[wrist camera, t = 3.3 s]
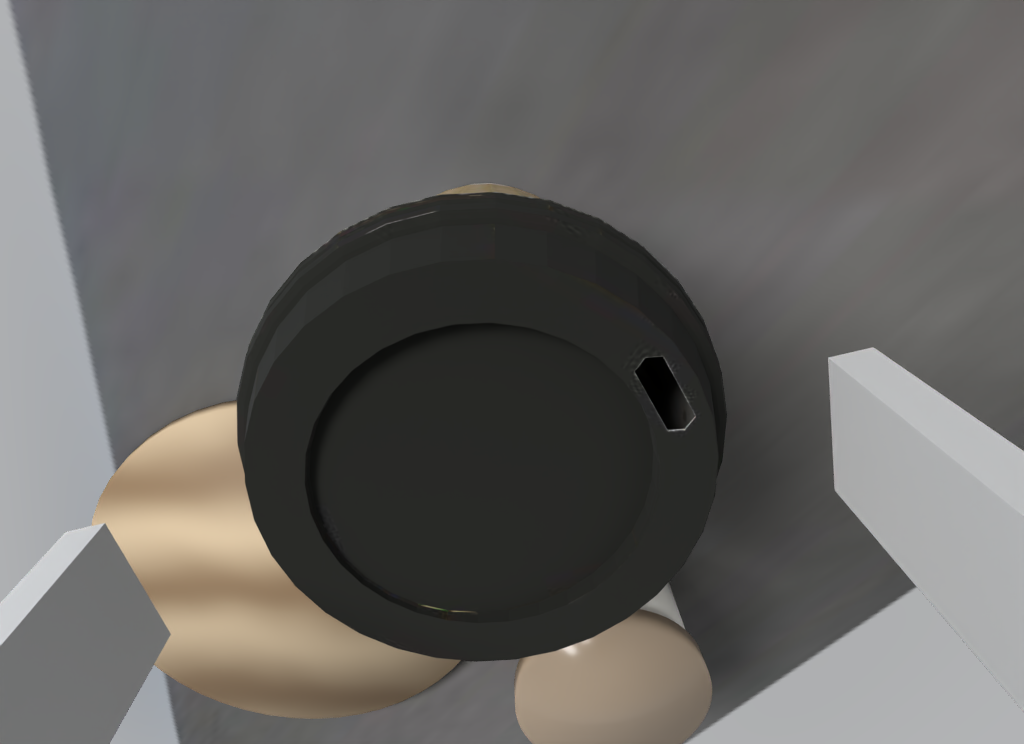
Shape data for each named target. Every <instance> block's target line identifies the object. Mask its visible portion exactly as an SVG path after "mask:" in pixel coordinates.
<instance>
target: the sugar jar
mask: <svg viewBox="0 0 1024 744" xmlns="http://www.w3.org/2000/svg"><path fill="white" fill-rule="evenodd" d="M514 687H515V710H516V716H517V720H518V722H519V725H520V727H521V729H522V731H523V732H524V734H525V735H526V737H527V738H528V739H529V740H530V741H531V742H532V743H533V744H682V743H683V742H684V741H685V740H686V739H688V738H689V737H690V736H691V735H692V734H693V733H694V732H695V731H696V730H697V728H698V727H699V726H700V724H701V723H702V721H703V720H704V718H705V716H706V714H707V712H708V710H709V707H710V703H711V699H712V682H711V678H710V674H709V672H708V669H707V666H706V663H705V661H704V658H703V655H702V653H701V650H700V648H699V646H698V644H697V643H696V641H695V640H694V638H693V637H692V636H691V635H690V634H689V633H688V632H687V631H686V630H685V627H684V624H683V621H682V619H681V616H680V613H679V610H678V607H677V604H676V602H675V599H674V596H673V593H672V590H671V587H670V584H669V582H668V583H667V584H666V586H665V587H664V588H663V589H662V590H661V591H660V592H659V594H658V595H656V596H655V597H654V598H653V599H651V600H650V601H649V602H647V603H646V604H645V605H644V606H642V607H641V608H640V609H639V610H637V611H636V612H635V613H634V614H632V615H631V616H630V617H629V618H627V619H626V620H624V621H622V622H620V623H618V624H616V625H615V626H613V627H611V628H609V629H607V630H606V631H604V632H602V633H600V634H598V635H597V636H595V637H593V638H590V639H588V640H585V641H582V642H579V643H577V644H574V645H571V646H568V647H566V648H563V649H560V650H557V651H554V652H549V653H544V654H539V655H535V656H530V657H525V658H520V660H519V662H518V665H517V669H516V672H515V679H514Z"/></svg>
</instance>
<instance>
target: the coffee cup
mask: <svg viewBox="0 0 1024 744" xmlns="http://www.w3.org/2000/svg"><path fill="white" fill-rule="evenodd" d="M726 418H727V412H726V404H725V396H724V388H723V380H722V372H721V369H720V366H719V361H718V358H717V356H716V353H715V350H714V348H713V345H712V342H711V339H710V337H709V334H708V331H707V328H706V326H705V323H704V320H703V318H702V317H701V315H700V313H699V312H698V310H697V309H696V307H695V306H694V304H693V303H692V301H691V300H690V298H689V297H688V295H687V293H686V292H685V290H684V289H683V287H682V286H681V284H680V283H679V281H678V280H677V279H676V278H675V277H674V276H673V275H672V274H671V273H670V272H669V271H668V270H667V269H666V268H665V267H664V266H663V265H662V264H661V263H660V262H659V261H658V260H657V259H656V258H655V257H654V256H653V255H652V254H651V253H650V252H649V251H648V250H647V249H646V248H645V247H644V246H642V245H641V244H639V243H638V242H636V241H634V240H633V239H631V238H630V237H628V236H626V235H625V234H623V233H622V232H620V231H618V230H617V229H615V228H614V227H612V226H611V225H609V224H607V223H606V222H604V221H603V220H601V219H599V218H597V217H594V216H591V215H589V214H586V213H583V212H580V211H578V210H575V209H572V208H570V207H567V206H564V205H562V204H559V203H556V202H553V201H551V200H546V199H540V198H539V197H537V196H535V195H533V194H530V193H528V192H525V191H522V190H520V189H517V188H514V187H509V186H506V185H500V184H493V183H480V184H471V185H466V186H463V187H459V188H455V189H451V190H447V191H445V192H443V193H441V194H438V195H436V196H433V197H429V198H425V199H421V200H417V201H413V202H409V203H405V204H401V205H398V206H394V207H390V208H387V209H385V210H383V211H381V212H379V213H377V214H375V215H373V216H371V217H369V218H366V219H364V220H362V221H360V222H358V223H356V224H354V225H352V226H350V227H348V228H346V229H344V230H342V231H340V232H339V233H338V234H336V235H335V236H334V237H333V238H331V239H330V240H329V241H328V242H326V243H325V244H324V245H323V246H321V247H320V248H319V249H317V250H316V251H315V252H314V253H312V254H311V255H310V256H309V257H307V258H306V259H305V260H304V261H302V262H301V263H300V264H299V266H298V267H297V268H296V269H295V270H294V272H293V273H292V274H291V275H290V277H289V278H288V279H287V280H286V282H285V283H284V284H283V285H282V287H281V288H280V289H279V290H278V291H277V293H276V294H275V295H274V296H273V298H272V299H271V300H270V302H269V304H268V306H267V308H266V310H265V312H264V314H263V316H262V319H261V321H260V323H259V325H258V327H257V329H256V331H255V333H254V335H253V337H252V339H251V341H250V344H249V347H248V352H247V354H246V358H245V362H244V367H243V371H242V376H241V380H240V385H239V389H238V394H237V444H238V449H239V453H240V457H241V461H242V465H243V469H244V473H245V485H246V489H247V493H248V497H249V501H250V506H251V510H252V514H253V518H254V521H255V523H256V525H257V527H258V529H259V531H260V533H261V535H262V537H263V539H264V541H265V543H266V545H267V547H268V549H269V551H270V554H271V556H272V557H273V558H274V559H275V561H276V562H277V563H278V565H279V566H280V567H281V568H282V570H283V571H284V572H285V574H286V575H287V576H288V577H289V579H290V580H291V581H292V582H293V584H294V585H295V586H296V587H297V588H298V589H299V590H300V591H301V592H302V593H304V594H305V595H306V596H307V597H308V598H309V599H310V600H312V601H313V602H314V603H315V604H316V605H317V606H318V607H320V608H321V609H322V610H323V611H324V612H325V613H327V614H328V615H330V616H332V617H333V618H335V619H337V620H338V621H340V622H342V623H343V624H345V625H346V626H348V627H350V628H351V629H353V630H355V631H356V632H358V633H360V634H362V635H365V636H367V637H369V638H372V639H374V640H377V641H379V642H382V643H384V644H387V645H389V646H392V647H394V648H396V649H400V650H405V651H409V652H413V653H417V654H421V655H426V656H430V657H434V658H442V659H453V660H465V661H494V660H511V659H520V658H525V657H530V656H535V655H539V654H544V653H549V652H554V651H557V650H560V649H563V648H566V647H568V646H571V645H574V644H577V643H579V642H582V641H585V640H588V639H590V638H593V637H595V636H597V635H598V634H600V633H602V632H604V631H606V630H607V629H609V628H611V627H613V626H615V625H616V624H618V623H620V622H622V621H624V620H626V619H627V618H629V617H630V616H631V615H632V614H634V613H635V612H636V611H637V610H639V609H640V608H641V607H642V606H644V605H645V604H646V603H647V602H649V601H650V600H651V599H653V598H654V597H655V596H656V595H658V594H659V592H660V591H661V590H662V589H663V588H664V587H665V586H666V584H667V583H668V582H669V581H670V580H671V579H672V578H673V576H674V575H675V574H676V573H677V572H678V571H679V570H680V569H681V567H682V566H683V565H684V563H685V562H686V560H687V558H688V556H689V555H690V553H691V551H692V550H693V548H694V546H695V544H696V543H697V541H698V539H699V538H700V536H701V534H702V532H703V530H704V527H705V524H706V521H707V518H708V515H709V512H710V509H711V506H712V503H713V499H714V496H715V488H716V478H717V475H718V472H719V469H720V466H721V463H722V458H723V448H724V438H725V428H726Z"/></svg>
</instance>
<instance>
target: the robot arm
mask: <svg viewBox="0 0 1024 744" xmlns="http://www.w3.org/2000/svg"><path fill="white" fill-rule="evenodd" d="M828 365H829V386H830V406H831V426H832V447H833V467H834V487H835V491H836V492H837V494H838V495H839V496H840V497H841V498H842V499H843V501H844V502H845V503H846V504H847V505H848V507H849V508H850V509H851V510H852V511H853V512H854V514H855V515H856V516H857V517H858V518H859V519H860V521H861V522H862V523H863V524H864V525H865V526H866V528H867V529H868V530H869V531H870V532H871V534H872V535H873V536H874V537H875V538H876V539H877V541H878V542H879V543H880V544H881V545H882V546H883V548H884V549H885V550H886V551H887V552H888V553H889V555H890V556H891V557H892V558H893V559H894V561H895V562H896V563H897V564H898V565H899V566H900V568H901V569H902V570H903V571H904V572H905V573H906V575H907V576H908V577H909V578H910V579H911V580H912V582H913V583H914V584H915V585H916V586H917V588H918V589H919V590H920V591H921V592H922V593H923V595H924V596H925V597H926V598H927V599H928V600H929V602H930V603H931V604H932V605H933V606H934V607H935V609H936V610H937V611H938V612H939V613H940V614H941V616H942V617H943V618H944V619H945V620H946V622H947V623H948V624H949V625H950V626H951V627H952V629H953V630H954V631H955V632H956V633H957V635H958V636H959V637H960V638H961V639H962V640H963V642H964V643H965V644H966V645H967V646H968V647H969V649H970V650H971V651H972V652H973V653H974V654H975V656H976V657H977V658H978V659H979V660H980V662H981V663H982V664H983V665H984V666H985V667H986V669H987V670H989V672H990V673H991V674H992V676H993V677H994V678H995V679H996V680H997V681H998V683H999V684H1000V685H1001V686H1002V687H1003V689H1004V690H1005V691H1006V692H1007V693H1008V694H1009V695H1010V697H1011V698H1012V699H1013V700H1014V701H1015V702H1016V704H1017V705H1018V706H1019V707H1020V708H1021V710H1022V711H1023V712H1024V451H1023V450H1021V449H1020V448H1018V447H1017V446H1015V445H1014V444H1012V443H1011V442H1010V441H1008V440H1007V439H1005V438H1004V437H1002V436H1001V435H999V434H998V433H997V432H995V431H994V430H992V429H991V428H989V427H988V426H986V425H985V424H984V423H982V422H981V421H979V420H978V419H976V418H975V417H973V416H972V415H971V414H969V413H968V412H966V411H965V410H963V409H962V408H960V407H959V406H958V405H956V404H955V403H953V402H952V401H950V400H949V399H947V398H946V397H944V396H943V395H942V394H940V393H939V392H937V391H936V390H934V389H933V388H931V387H930V386H929V385H927V384H926V383H924V382H923V381H921V380H920V379H918V378H917V377H916V376H914V375H913V374H911V373H910V372H908V371H907V370H905V369H904V368H903V367H901V366H900V365H898V364H897V363H895V362H894V361H892V360H891V359H889V358H888V357H887V356H885V355H884V354H882V353H881V352H879V351H878V350H876V349H875V348H874V347H873V348H868V349H864V350H859V351H855V352H851V353H846V354H842V355H838V356H833V357H829V358H828ZM170 635H171V633H170V632H169V630H168V628H167V627H166V625H165V623H164V622H163V620H162V618H161V617H160V615H159V613H158V611H157V610H156V608H155V606H154V605H153V603H152V601H151V600H150V598H149V596H148V595H147V593H146V591H145V590H144V588H143V586H142V584H141V583H140V581H139V579H138V578H137V576H136V574H135V573H134V571H133V569H132V568H131V566H130V564H129V563H128V561H127V559H126V557H125V556H124V554H123V552H122V551H121V549H120V547H119V546H118V544H117V542H116V541H115V539H114V537H113V536H112V534H111V532H110V530H109V529H108V527H107V525H106V524H105V523H103V524H98V525H94V526H90V527H86V528H81V529H77V530H73V531H68V532H65V533H64V534H63V535H62V537H61V538H60V539H59V540H58V541H57V542H56V543H55V544H54V545H53V546H52V547H51V549H50V550H49V551H48V552H47V553H46V554H45V555H44V556H43V558H41V559H40V560H39V562H38V563H37V564H36V565H35V566H34V567H33V568H32V569H31V570H30V571H29V572H28V573H27V575H26V576H25V577H24V578H23V579H22V580H21V581H20V582H19V583H18V584H17V585H16V587H15V588H14V589H13V590H12V591H11V592H10V593H9V594H8V595H7V596H6V597H5V598H4V600H3V601H2V602H1V603H0V744H110V742H111V740H112V738H113V736H114V735H115V733H116V731H117V729H118V728H119V726H120V724H121V722H122V720H123V719H124V717H125V715H126V713H127V712H128V710H129V708H130V706H131V704H132V703H133V701H134V699H135V697H136V696H137V694H138V692H139V690H140V688H141V687H142V685H143V683H144V681H145V680H146V678H147V676H148V674H149V672H150V671H151V669H152V667H153V665H154V664H155V662H156V660H157V658H158V656H159V655H160V653H161V651H162V649H163V648H164V646H165V644H166V642H167V640H168V639H169V637H170Z"/></svg>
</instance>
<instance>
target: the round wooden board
mask: <svg viewBox="0 0 1024 744" xmlns="http://www.w3.org/2000/svg"><path fill="white" fill-rule="evenodd" d="M103 523H105V524H106V525H107V527H108V529H109V530H110V532H111V534H112V536H113V537H114V539H115V541H116V542H117V544H118V546H119V547H120V549H121V551H122V552H123V554H124V556H125V557H126V559H127V561H128V563H129V564H130V566H131V568H132V569H133V571H134V573H135V574H136V576H137V578H138V579H139V581H140V583H141V584H142V586H143V588H144V590H145V591H146V593H147V595H148V596H149V598H150V600H151V601H152V603H153V605H154V606H155V608H156V610H157V611H158V613H159V615H160V617H161V618H162V620H163V622H164V623H165V625H166V627H167V628H168V630H169V632H170V633H171V635H170V637H169V639H168V640H167V642H166V644H165V646H164V648H163V649H162V651H161V653H160V655H159V656H158V658H157V660H156V662H155V664H154V665H155V666H157V668H159V669H160V670H161V671H163V672H164V673H166V674H167V675H169V676H170V677H172V678H173V679H175V680H176V681H178V682H179V683H181V684H183V685H185V686H187V687H189V688H191V689H192V690H194V691H196V692H198V693H200V694H202V695H205V696H207V697H210V698H212V699H214V700H217V701H219V702H222V703H225V704H228V705H231V706H234V707H237V708H241V709H244V710H248V711H253V712H257V713H262V714H266V715H273V716H281V717H289V718H310V719H318V718H337V717H344V716H351V715H358V714H363V713H367V712H371V711H375V710H379V709H382V708H385V707H388V706H391V705H393V704H396V703H399V702H402V701H404V700H406V699H408V698H410V697H412V696H414V695H416V694H418V693H420V692H422V691H424V690H425V689H427V688H428V687H430V686H431V685H433V684H434V683H436V682H437V681H439V680H440V679H441V678H442V677H444V676H445V675H446V674H447V673H448V672H450V671H451V670H452V669H453V668H454V667H455V666H456V665H457V664H458V663H459V662H460V661H461V660H453V659H442V658H434V657H430V656H426V655H421V654H417V653H413V652H409V651H405V650H400V649H396V648H394V647H392V646H389V645H387V644H384V643H382V642H379V641H377V640H374V639H372V638H369V637H367V636H365V635H362V634H360V633H358V632H356V631H355V630H353V629H351V628H350V627H348V626H346V625H345V624H343V623H342V622H340V621H338V620H337V619H335V618H333V617H332V616H330V615H328V614H327V613H325V612H324V611H323V610H322V609H321V608H320V607H318V606H317V605H316V604H315V603H314V602H313V601H312V600H310V599H309V598H308V597H307V596H306V595H305V594H304V593H302V592H301V591H300V590H299V589H298V588H297V587H296V586H295V585H294V584H293V582H292V581H291V580H290V579H289V577H288V576H287V575H286V574H285V572H284V571H283V570H282V568H281V567H280V566H279V565H278V563H277V562H276V561H275V559H274V558H273V557H272V556H271V554H270V551H269V549H268V547H267V545H266V543H265V541H264V539H263V537H262V535H261V533H260V531H259V529H258V527H257V525H256V523H255V521H254V518H253V514H252V510H251V506H250V501H249V497H248V493H247V489H246V485H245V473H244V469H243V465H242V461H241V457H240V453H239V449H238V444H237V400H235V401H230V402H224V403H220V404H217V405H213V406H210V407H207V408H203V409H200V410H197V411H195V412H192V413H190V414H188V415H186V416H184V417H181V418H179V419H177V420H175V421H173V422H171V423H170V424H168V425H166V426H165V427H163V428H162V429H160V430H159V431H157V432H156V433H154V434H153V435H151V436H150V437H149V438H148V439H147V440H146V441H144V442H143V443H142V444H141V445H140V446H139V447H138V448H137V449H135V450H134V451H133V452H132V454H131V455H130V456H129V457H128V458H127V459H126V460H125V461H124V462H123V464H122V465H121V466H120V467H119V469H118V470H117V471H116V472H115V474H114V475H113V476H112V477H111V479H110V480H109V482H108V484H107V486H106V488H105V490H104V491H103V493H102V495H101V497H100V499H99V502H98V505H97V508H96V510H95V513H94V516H93V521H92V526H94V525H98V524H103Z"/></svg>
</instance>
